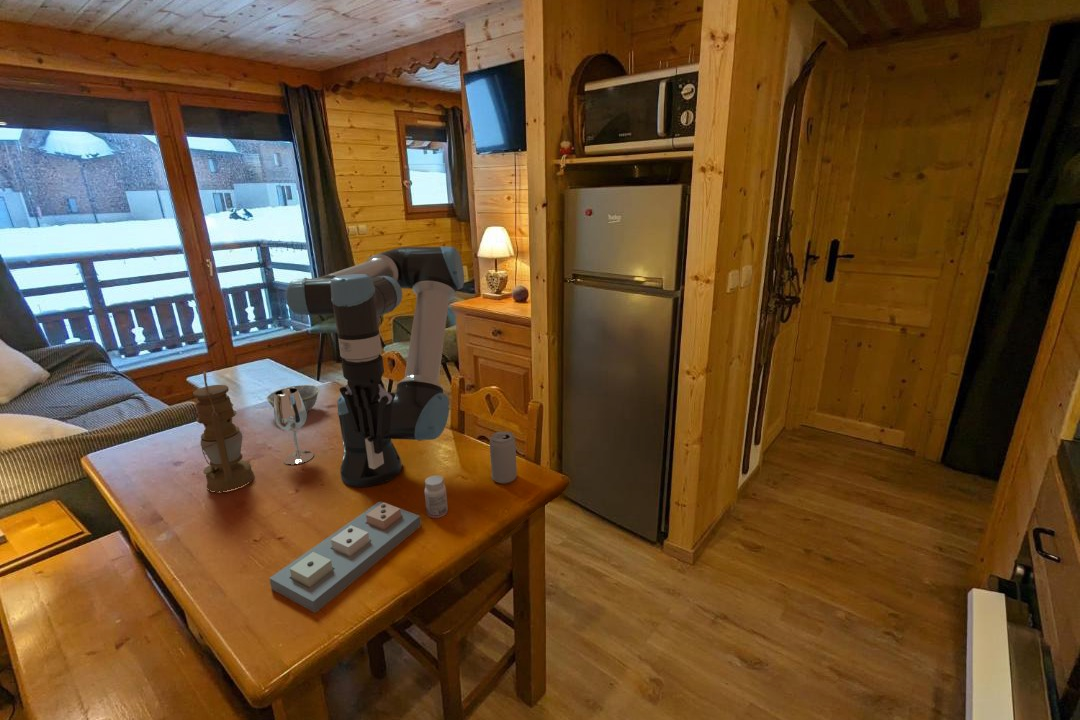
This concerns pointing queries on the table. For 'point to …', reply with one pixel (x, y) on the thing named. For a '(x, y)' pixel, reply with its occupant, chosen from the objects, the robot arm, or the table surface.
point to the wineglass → (291, 420)
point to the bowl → (306, 393)
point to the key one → (311, 569)
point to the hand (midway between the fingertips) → (376, 465)
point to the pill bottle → (435, 496)
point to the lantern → (221, 439)
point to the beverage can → (503, 457)
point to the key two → (350, 541)
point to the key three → (383, 516)
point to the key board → (344, 561)
